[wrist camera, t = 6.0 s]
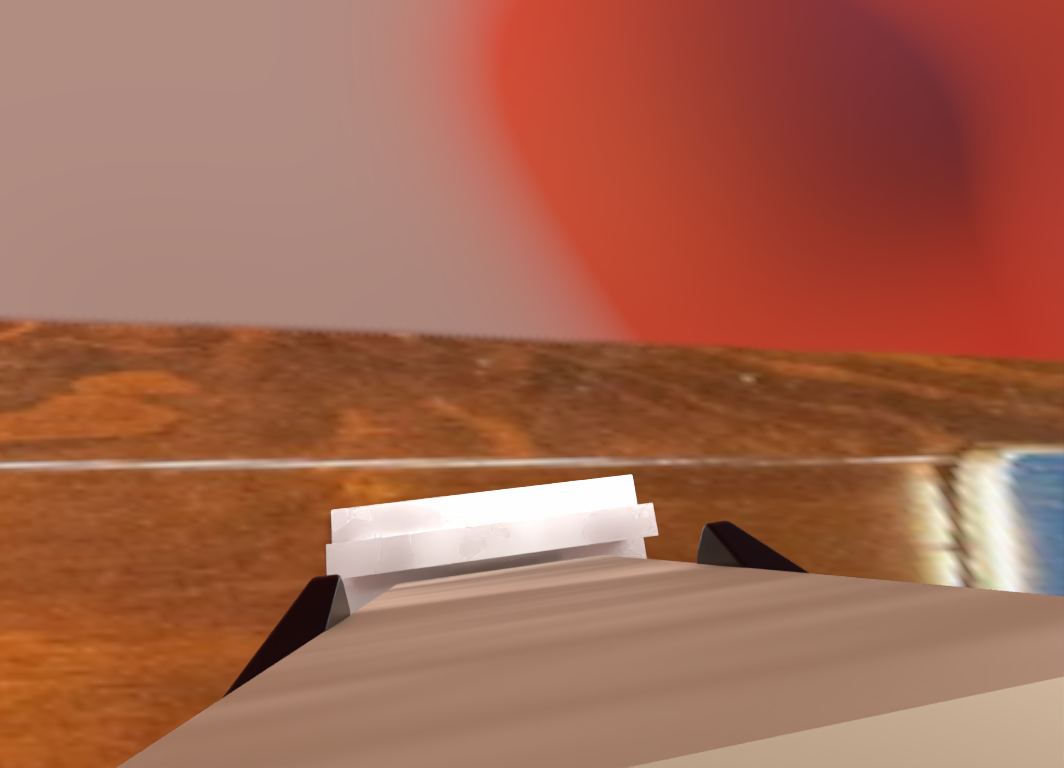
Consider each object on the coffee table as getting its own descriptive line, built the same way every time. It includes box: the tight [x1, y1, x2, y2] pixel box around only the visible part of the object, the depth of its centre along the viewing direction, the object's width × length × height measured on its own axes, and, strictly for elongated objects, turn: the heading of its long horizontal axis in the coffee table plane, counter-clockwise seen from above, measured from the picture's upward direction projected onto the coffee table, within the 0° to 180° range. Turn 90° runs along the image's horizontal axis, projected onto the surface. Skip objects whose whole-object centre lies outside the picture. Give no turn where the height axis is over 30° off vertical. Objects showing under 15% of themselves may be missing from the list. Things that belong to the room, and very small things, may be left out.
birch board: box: [117, 555, 1064, 768], centre depth 8 cm, size 2×6×14 cm, turn 97°
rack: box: [326, 475, 658, 615], centre depth 16 cm, size 14×11×4 cm
